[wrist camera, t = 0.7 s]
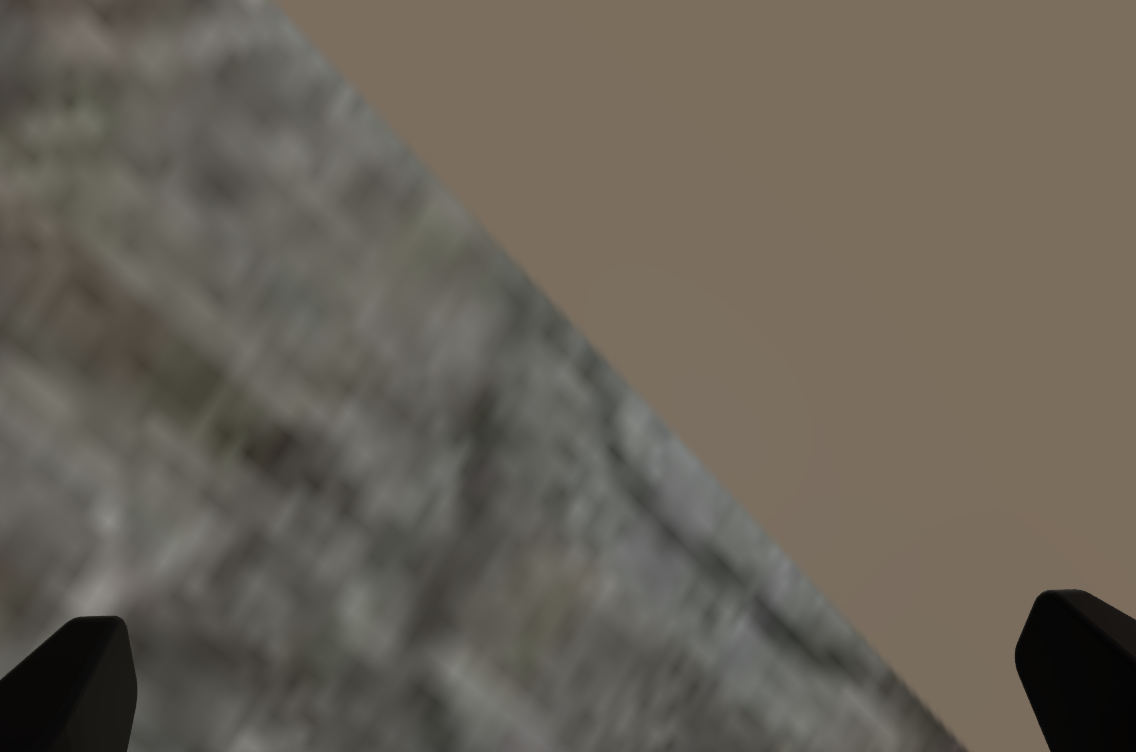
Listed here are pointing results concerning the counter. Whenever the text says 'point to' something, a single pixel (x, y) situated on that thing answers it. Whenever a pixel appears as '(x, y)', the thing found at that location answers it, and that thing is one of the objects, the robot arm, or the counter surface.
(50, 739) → the robot arm
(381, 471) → the counter surface
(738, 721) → the counter surface
